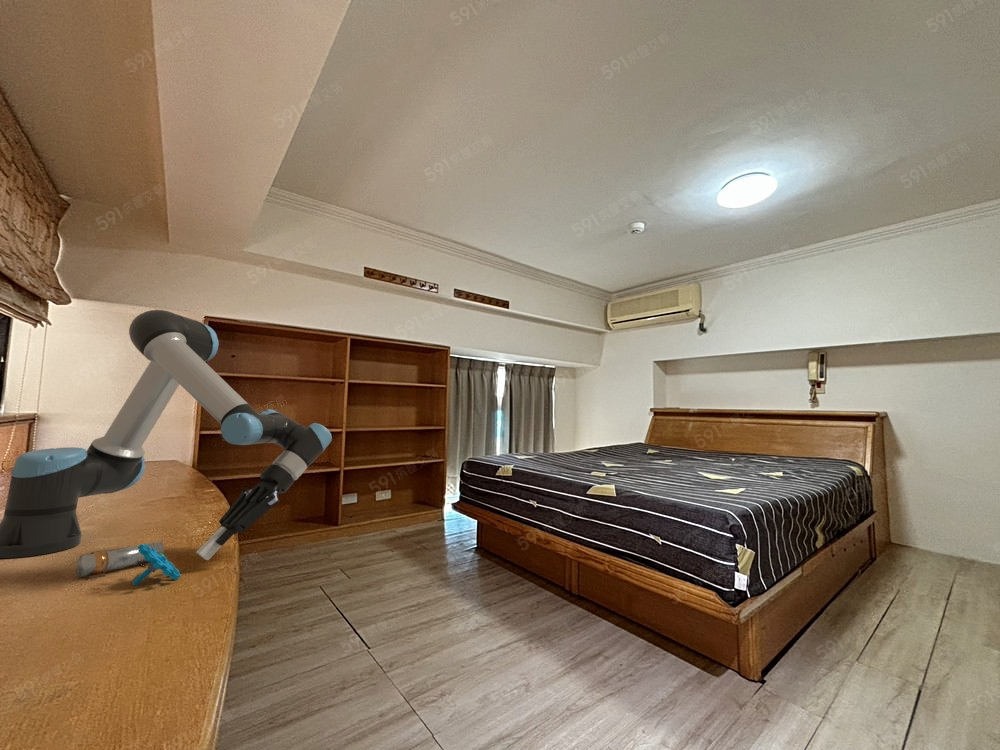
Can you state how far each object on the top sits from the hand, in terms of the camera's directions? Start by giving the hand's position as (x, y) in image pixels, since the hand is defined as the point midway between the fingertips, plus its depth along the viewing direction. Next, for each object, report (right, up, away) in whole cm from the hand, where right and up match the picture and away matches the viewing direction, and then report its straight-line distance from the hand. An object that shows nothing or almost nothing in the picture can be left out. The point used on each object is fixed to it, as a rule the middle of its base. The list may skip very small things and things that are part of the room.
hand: (202, 556), depth 87 cm
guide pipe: (-16, -2, -2) cm, 16 cm away
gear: (-4, -2, -7) cm, 8 cm away
